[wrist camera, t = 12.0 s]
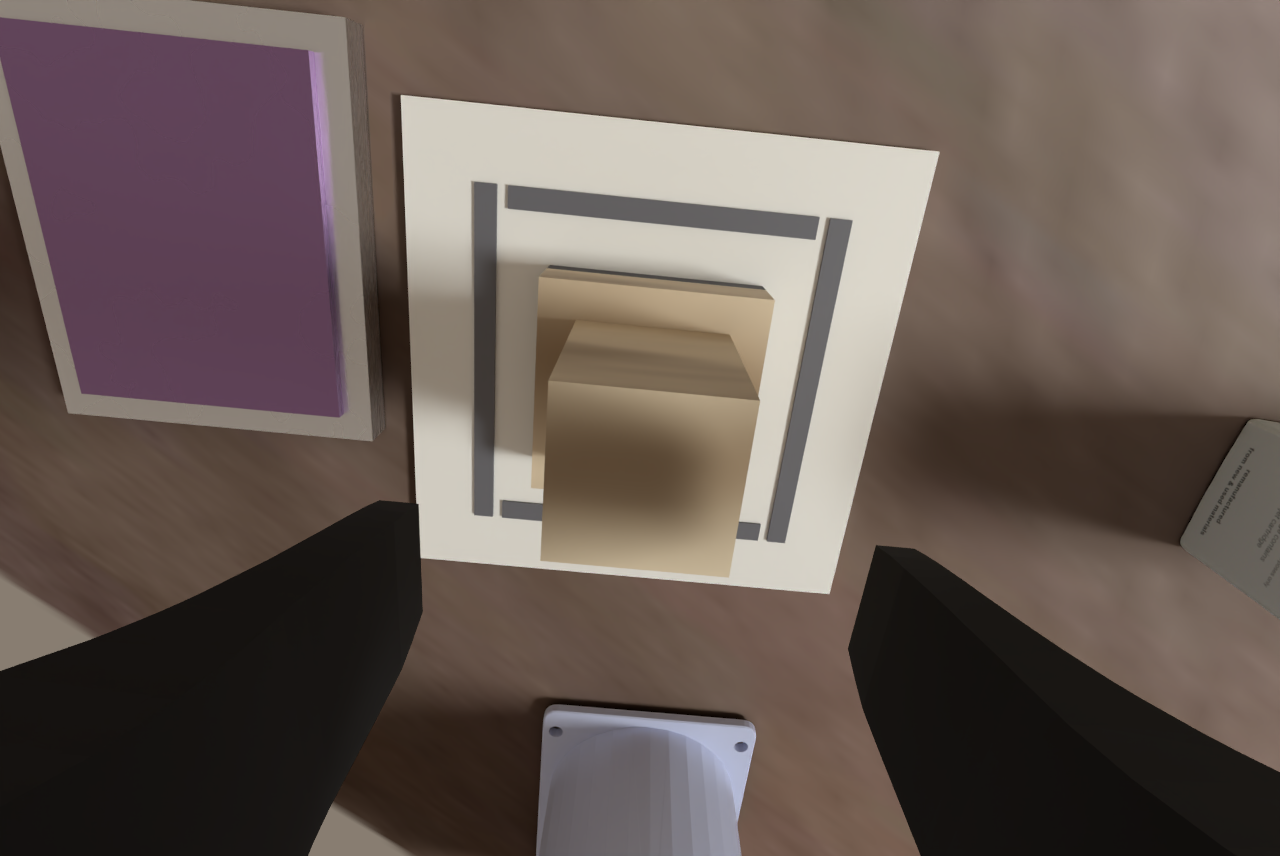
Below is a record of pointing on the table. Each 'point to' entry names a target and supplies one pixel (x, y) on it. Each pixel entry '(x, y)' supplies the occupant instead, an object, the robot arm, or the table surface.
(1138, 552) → the table surface
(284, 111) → the ink pad
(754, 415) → the wooden stamp
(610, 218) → the paper sheet
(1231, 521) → the ink box
